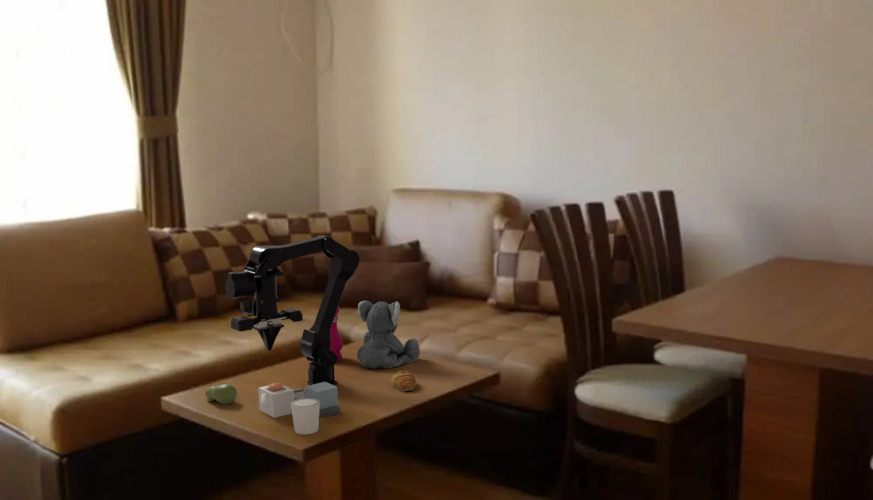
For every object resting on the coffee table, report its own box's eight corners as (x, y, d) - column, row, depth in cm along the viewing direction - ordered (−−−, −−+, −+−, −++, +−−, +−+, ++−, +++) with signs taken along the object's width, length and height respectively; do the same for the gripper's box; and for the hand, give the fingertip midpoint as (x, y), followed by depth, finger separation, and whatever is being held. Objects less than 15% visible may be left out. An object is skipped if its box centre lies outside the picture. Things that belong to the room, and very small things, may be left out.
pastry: (420, 391, 244) (420, 378, 243) (396, 394, 242) (396, 380, 241) (412, 381, 252) (412, 368, 252) (389, 384, 251) (388, 371, 250)
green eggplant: (223, 387, 232) (199, 387, 238) (226, 407, 232) (202, 406, 238) (239, 381, 236) (215, 381, 243) (243, 401, 237) (219, 400, 243)
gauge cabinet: (280, 405, 234) (279, 382, 233) (295, 412, 228) (294, 390, 227) (257, 410, 230) (256, 387, 229) (272, 418, 224) (271, 395, 223)
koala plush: (423, 359, 274) (422, 297, 271) (390, 374, 259) (388, 308, 256) (378, 352, 284) (376, 292, 281) (343, 366, 269) (340, 302, 266)
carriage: (326, 405, 233) (325, 381, 232) (338, 410, 228) (337, 387, 227) (305, 410, 229) (304, 386, 228) (317, 416, 224) (316, 391, 224)
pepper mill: (339, 362, 272) (336, 298, 269) (316, 362, 274) (313, 298, 271) (346, 356, 279) (344, 293, 276) (324, 355, 281) (321, 293, 278)
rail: (301, 394, 242) (301, 388, 242) (340, 413, 227) (340, 406, 226) (284, 398, 239) (284, 392, 239) (322, 417, 223) (322, 411, 223)
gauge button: (279, 403, 231) (278, 381, 230) (286, 407, 228) (285, 384, 228) (267, 406, 229) (266, 384, 228) (273, 410, 226) (272, 387, 225)
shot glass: (293, 426, 218) (291, 398, 217) (321, 424, 219) (320, 397, 218) (291, 436, 211) (289, 407, 210) (320, 434, 212) (319, 406, 211)
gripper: (283, 284, 250) (285, 339, 252) (220, 294, 239) (223, 350, 241) (302, 290, 241) (305, 346, 243) (238, 300, 230) (241, 359, 232)
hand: (268, 350), depth 240 cm, fingers closed
